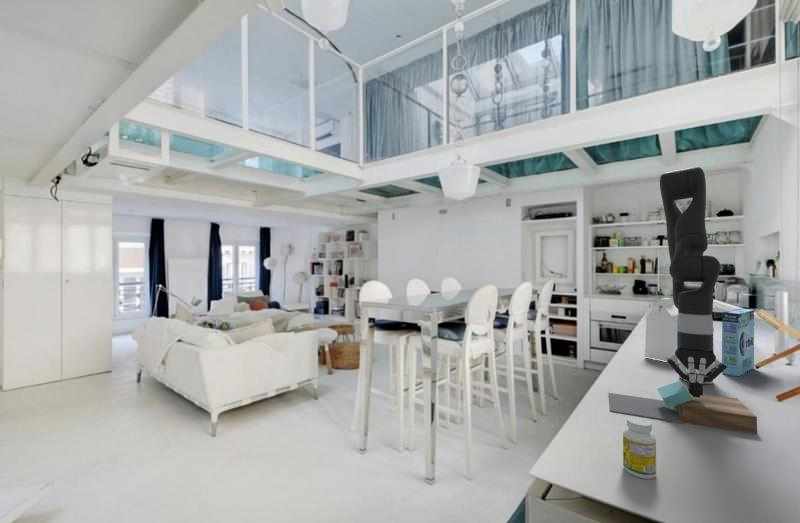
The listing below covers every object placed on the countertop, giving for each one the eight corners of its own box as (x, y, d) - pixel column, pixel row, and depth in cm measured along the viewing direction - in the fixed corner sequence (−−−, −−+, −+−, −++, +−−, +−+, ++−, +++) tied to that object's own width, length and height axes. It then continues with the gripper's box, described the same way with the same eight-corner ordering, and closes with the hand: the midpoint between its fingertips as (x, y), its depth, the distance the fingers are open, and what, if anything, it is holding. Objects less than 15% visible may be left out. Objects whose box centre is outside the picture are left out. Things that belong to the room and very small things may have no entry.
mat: (608, 393, 114) (608, 392, 114) (672, 402, 106) (672, 401, 106) (610, 411, 100) (610, 410, 100) (683, 423, 92) (683, 422, 92)
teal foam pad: (662, 397, 104) (657, 388, 105) (685, 389, 102) (679, 380, 102) (668, 407, 96) (662, 398, 97) (693, 399, 94) (686, 390, 95)
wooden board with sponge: (672, 404, 105) (672, 389, 105) (737, 413, 99) (736, 398, 99) (682, 422, 93) (682, 406, 93) (757, 434, 86) (756, 417, 87)
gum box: (738, 366, 146) (737, 308, 147) (755, 369, 142) (755, 309, 142) (721, 373, 136) (720, 311, 136) (739, 377, 131) (738, 313, 132)
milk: (674, 364, 148) (674, 300, 148) (644, 358, 158) (644, 298, 159) (690, 361, 154) (689, 299, 154) (660, 355, 164) (659, 297, 164)
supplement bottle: (654, 483, 67) (654, 429, 67) (620, 472, 70) (620, 421, 70) (657, 470, 71) (657, 420, 71) (625, 461, 74) (625, 413, 74)
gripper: (722, 330, 98) (723, 396, 98) (662, 326, 104) (662, 388, 104) (732, 335, 91) (732, 405, 91) (666, 330, 97) (667, 396, 97)
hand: (695, 396), depth 97 cm, fingers closed
